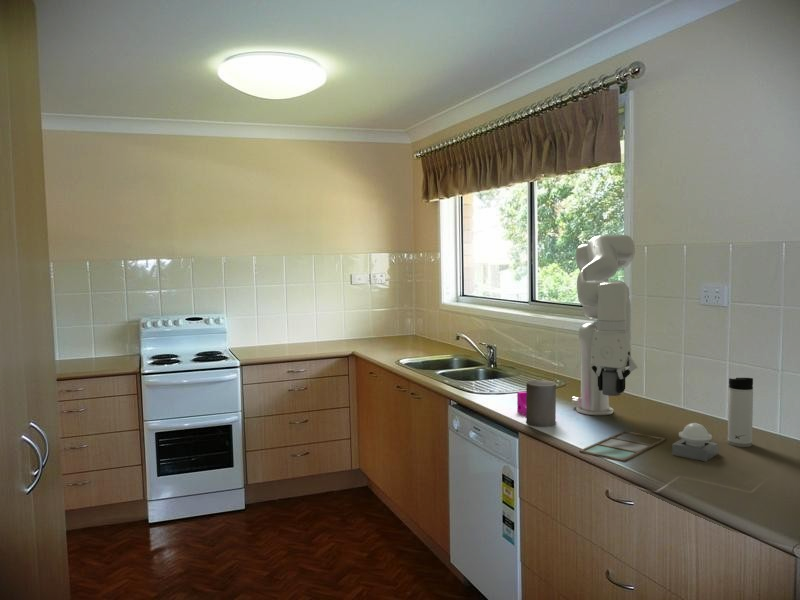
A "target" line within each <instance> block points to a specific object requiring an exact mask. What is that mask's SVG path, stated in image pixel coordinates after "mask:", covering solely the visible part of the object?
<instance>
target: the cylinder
mask: <svg viewBox="0 0 800 600" xmlns="http://www.w3.org/2000/svg"><path fill="white" fill-rule="evenodd" d="M617 379H619V376H618V372H617V368H607V367H605V370H604V371H602V394H603V395H608V396H609V397H611V396H612V397H614V396H615V397H616V396H617V397H618V396H621V393H617Z"/></svg>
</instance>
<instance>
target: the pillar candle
mask: <svg viewBox="0 0 800 600" xmlns="http://www.w3.org/2000/svg"><path fill="white" fill-rule="evenodd" d="M556 388H557V383H556V382H555V381H550V380H545V379H544V380H543V379H541V378H540V379H536V380H535V379H533V380H528V381H526V390H525V391H526V416H525V417H526V421H525V424H527V425H530V426H532V427H538V428H539V427H541V428H545V427H546V428H547V427H553V426H555V425H556V419H557V418H556V407H557V403H556V401H557V400H556V398H557V395H556V393H557V389H556Z"/></svg>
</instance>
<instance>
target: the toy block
mask: <svg viewBox="0 0 800 600" xmlns="http://www.w3.org/2000/svg"><path fill="white" fill-rule="evenodd" d="M516 393H517V395H516V397H517V403H516V404H517V405H516V406H517V411H516V412H517V413H519V414H521V415H523V416H525V417H526V390H525V391H517V392H516Z"/></svg>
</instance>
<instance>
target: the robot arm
mask: <svg viewBox="0 0 800 600" xmlns="http://www.w3.org/2000/svg"><path fill="white" fill-rule="evenodd" d="M635 253H636V247H635V242H634V240H633V238H632V237H631V236H630V235H627V234H601V235H596V236H593V237H591V238H590V239H589V241H588V243H583V244H580V245H579V246H578V247H577V248H576V250H575V259H576V266H577V268H578V270H579V273H578V275H577V279H576V292H577V299H578V302H579V303H580V304H581V305H582V312H583V315H584V316H585V318H587V319H592V320H594V321H593V322H587V323H584V324H581V325H580V327H579V328H578V334H577V335H578V343H579V344H578V345H579V349H580V350H579V351H580V396H579V397H578V396H572V397H571V403H572V404H577V406H575V407H576V409H575V410H576V412H577V413H579V414H583V415H589V416H608V415H612V414H613V413H614V408H613V407H611V406H610V404H609V403H610V401H609V400H610V396H608V395H603V394H602V371H604V370H605V367H607V368H617V372H618V376H619V379H617V393H620V394H622V393H624V392H625V390H626V378H628V377H629V376H630V375H631V374H632V373H633V372H635V371H636V370H637V369H638V366H637V363H635V362H634V360H633V358H632V348H631V340H632V339H631V337H632V336H631V335H632V334H631V333H632V321H631V320H632V306H631V305H632V304H631V299H630V288H629V286H628V285H627V283H626V282H625V281H622V280H609V279H611V278H612V277H614V276H615V275H616V274H617V272H618V270H619V269H624V268H627V267H628V266H629V265H630V264H631V263H632V261H633V259H634V257H635ZM595 320H596V321H595Z"/></svg>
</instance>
